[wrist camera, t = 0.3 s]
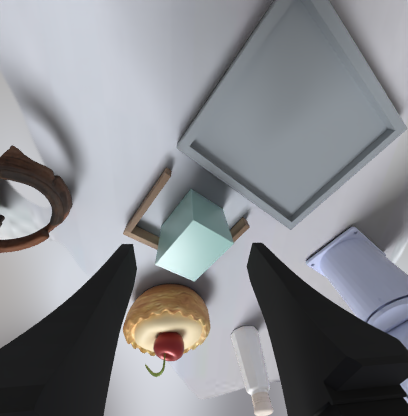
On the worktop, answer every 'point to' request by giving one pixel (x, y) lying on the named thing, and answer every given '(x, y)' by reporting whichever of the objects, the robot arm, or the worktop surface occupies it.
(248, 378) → the salt shaker
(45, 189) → the brown piece
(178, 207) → the teal block
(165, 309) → the pastry
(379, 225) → the worktop surface
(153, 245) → the dark bent strip
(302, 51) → the grey tray
